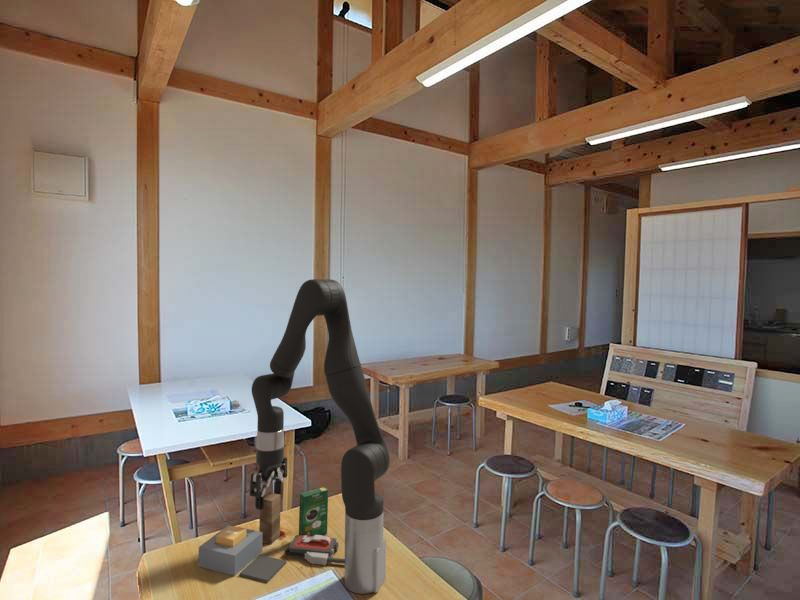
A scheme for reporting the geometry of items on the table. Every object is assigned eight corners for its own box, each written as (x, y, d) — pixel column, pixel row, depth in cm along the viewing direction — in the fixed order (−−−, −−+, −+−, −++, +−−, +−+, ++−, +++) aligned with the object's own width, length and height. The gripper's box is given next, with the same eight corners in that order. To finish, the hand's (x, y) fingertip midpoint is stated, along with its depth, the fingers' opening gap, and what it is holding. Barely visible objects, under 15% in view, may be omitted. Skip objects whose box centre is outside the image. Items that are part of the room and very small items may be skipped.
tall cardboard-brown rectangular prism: (280, 536, 124) (280, 494, 124) (271, 544, 120) (272, 500, 120) (267, 533, 125) (268, 492, 125) (259, 541, 122) (259, 498, 121)
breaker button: (246, 544, 115) (246, 528, 115) (233, 555, 110) (233, 539, 110) (230, 540, 117) (230, 525, 117) (216, 551, 112) (216, 535, 112)
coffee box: (323, 529, 128) (323, 485, 128) (328, 533, 126) (328, 488, 125) (298, 539, 123) (298, 492, 123) (302, 543, 121) (303, 496, 120)
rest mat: (286, 563, 112) (286, 560, 112) (267, 582, 104) (267, 580, 104) (259, 556, 114) (259, 554, 114) (239, 575, 107) (239, 573, 107)
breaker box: (262, 550, 117) (262, 532, 117) (234, 575, 107) (235, 555, 107) (228, 542, 121) (228, 524, 120) (198, 566, 110) (198, 546, 110)
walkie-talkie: (280, 562, 113) (356, 570, 110) (280, 545, 113) (356, 553, 110) (293, 543, 121) (363, 550, 119) (293, 527, 121) (364, 533, 119)
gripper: (266, 455, 114) (265, 516, 115) (295, 438, 128) (294, 493, 128) (242, 451, 117) (241, 511, 117) (273, 435, 130) (272, 488, 131)
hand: (269, 501), depth 123 cm, fingers open, 8 cm apart
